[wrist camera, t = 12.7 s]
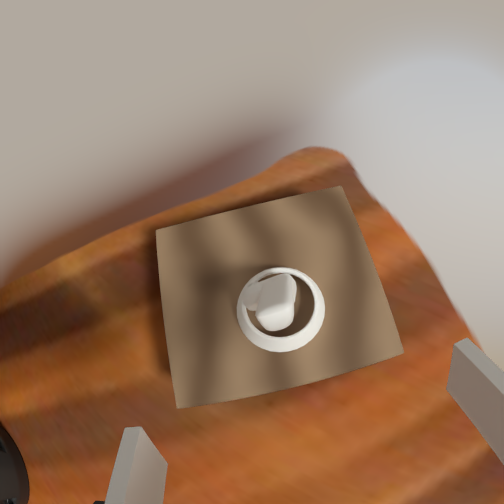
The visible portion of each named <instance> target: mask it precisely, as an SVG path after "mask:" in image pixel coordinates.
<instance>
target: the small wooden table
mask: <svg viewBox="0 0 504 504" xmlns="http://www.w3.org/2000/svg"><path fill="white" fill-rule="evenodd" d="M156 243H157V257H158V269H159V280H160V291H161V300H162V310H163V318H164V327H165V334H166V342H167V349H168V356H169V363H170V370H171V376H172V382H173V388H174V394H175V400H176V405H177V408H188V407H195V406H202V405H208V404H215V403H221V402H226V401H232V400H238V399H243V398H248V397H253V396H258V395H262V394H267V393H272V392H276V391H280V390H285V389H289V388H293V387H297V386H301V385H305V384H309V383H312V382H316V381H320V380H323V379H327V378H331V377H334V376H337V375H341V374H344V373H347V372H351V371H354V370H357V369H360V368H363V367H366V366H369V365H372V364H375V363H378V362H381V361H384V360H387V359H390V358H393V357H395V356H398V355H400V354H403V353H404V350H403V347H402V344H401V341H400V337H399V334H398V331H397V328H396V325H395V322H394V319H393V316H392V313H391V310H390V307H389V304H388V301H387V298H386V295H385V292H384V290H383V287H382V284H381V281H380V279H379V276H378V273H377V271H376V268H375V265H374V263H373V260H372V258H371V255H370V252H369V250H368V247H367V245H366V242H365V240H364V237H363V235H362V233H361V230H360V228H359V225H358V223H357V221H356V218H355V216H354V214H353V211H352V209H351V207H350V204H349V202H348V200H347V198H346V195H345V193H344V191H343V189H342V187H341V186H337V187H332V188H328V189H323V190H318V191H314V192H309V193H304V194H300V195H295V196H291V197H287V198H282V199H278V200H273V201H269V202H265V203H261V204H256V205H252V206H248V207H244V208H240V209H236V210H232V211H228V212H224V213H220V214H216V215H212V216H208V217H204V218H200V219H196V220H192V221H188V222H184V223H181V224H177V225H173V226H169V227H166V228H162V229H158V230H156ZM276 267H287V268H292V269H296V270H298V271H300V272H302V273H305V274H306V275H307V276H309V277H310V278H311V279H312V280H313V281H314V282H315V283H316V284H317V286H318V287H319V289H320V291H321V293H322V296H323V298H324V304H325V315H324V320H323V323H322V326H321V328H320V329H319V331H318V333H317V334H316V335H315V336H314V338H313V339H312V340H311V341H309V342H308V343H307V344H306V345H304V346H302V347H300V348H298V349H295V350H292V351H288V352H273V351H268V350H265V349H262V348H260V347H258V346H257V345H255V344H253V343H252V342H251V341H250V340H249V339H248V338H247V337H246V336H245V334H244V333H243V332H242V330H241V328H240V325H239V323H238V319H237V303H238V299H239V296H240V293H241V291H242V290H243V288H244V286H245V285H246V284H247V283H248V281H249V280H250V279H251V278H253V277H254V276H255V275H257V274H258V273H260V272H262V271H264V270H267V269H270V268H276ZM280 274H287V273H275V274H271V275H268V276H266V277H264V278H262V279H260V280H259V281H258V282H260V281H263V280H266V279H268V278H271V277H274V276H276V275H280ZM290 275H291V274H290ZM291 277H292V278H293V279H294V280H295V282H296V287H297V290H296V298H295V302H294V318H293V321H292V323H291V324H290V325H289V326H288V327H286V328H284V329H282V330H278V331H268V330H266V329H265V328H264V327H263V326H262V325H261V324H260V322H259V321H258V319H257V318H256V316H255V313H256V311H250V310H248V309H247V307H246V310H247V314H248V317H249V319H250V321H251V323H252V324H253V325H254V326H255V327H256V328H257V329H258V330H259V331H261V332H262V333H264V334H266V335H269V336H273V337H286V336H290V335H293V334H295V333H297V332H299V331H300V330H302V329H303V328H304V327H305V326H306V325H307V324H308V322H309V321H310V319H311V317H312V314H313V311H314V297H313V294H312V291H311V289H310V287H309V286H308V285H307V284H306V283H305V282H304V281H303V280H302V279H300V278H298V277H296V276H294V275H291Z"/></svg>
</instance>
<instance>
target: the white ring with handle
mask: <svg viewBox="0 0 504 504" xmlns="http://www.w3.org/2000/svg"><path fill="white" fill-rule="evenodd" d="M275 273H287V274H280V275H276V276H274V277H271V278H268V279H266V280H263V281H260V282H258V281H259V280H260V279H262V278H264V277H266V276H268V275H271V274H275ZM290 274H291V275H294V276H296V277H298V278H300V279H302V280H303V281H304V282H305V283H306V284H307V285H308V286H309V287H310V289H311V291H312V294H313V297H314V311H313V314H312V317H311V319H310V321H309V322H308V324H307V325H306V326H305V327H304V328H303V329H302V330H300V331H299V332H297V333H295V334H293V335H290V336H286V337H273V336H269V335H266V334H264V333H262V332H261V331H259V330H258V329H257V328H256V327H255V326H254V325H253V324H252V323H251V321H250V319H249V317H248V314H247V310H246V307H247V309H248V310H250V311H256V313H255V316H256V318H257V319H258V321H259V322H260V324H261V325H262V326H263V327H264V328H265V329H266V330H268V331H278V330H282V329H284V328H286V327H288V326H289V325H290V324H291V323H292V321H293V318H294V302H295V298H296V290H297V287H296V282H295V280H294V279H293V278H292V277H291V275H290ZM324 315H325V304H324V298H323V296H322V293H321V291H320V289H319V287H318V286H317V284H316V283H315V282H314V281H313V280H312V279H311V278H310V277H309V276H307V275H306V274H305V273H302V272H300V271H298V270H296V269H292V268H287V267H276V268H270V269H267V270H264V271H262V272H260V273H258V274H257V275H255V276H254V277H253V278H251V279H250V280H249V281H248V283H247V284H246V285H245V286H244V288H243V290H242V291H241V293H240V296H239V299H238V303H237V319H238V323H239V325H240V328H241V330H242V332H243V333H244V334H245V336H246V337H247V338H248V339H249V340H250V341H251V342H252V343H253V344H255V345H257V346H258V347H260V348H262V349H265V350H268V351H273V352H288V351H292V350H295V349H298V348H300V347H302V346H304V345H306V344H307V343H308V342H309V341H311V340H312V339H313V338H314V336H315V335H316V334H317V333H318V331H319V329H320V328H321V326H322V323H323V320H324Z"/></svg>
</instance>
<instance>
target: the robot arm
mask: <svg viewBox="0 0 504 504" xmlns="http://www.w3.org/2000/svg"><path fill="white" fill-rule="evenodd" d="M446 390H447V391H448V392H449V393H450V395H451V396H452V397H453V398H454V400H455V401H456V402H457V404H458V405H459V406H460V407H461V409H462V410H463V411H464V412H465V414H466V415H467V416H468V418H469V419H470V420H471V422H472V423H473V424H474V425H475V427H476V428H477V429H478V431H479V432H480V433H481V435H482V436H483V437H484V439H485V440H486V441H487V443H488V444H489V445H490V447H491V448H492V450H493V451H494V452H495V454H496V455H497V456H498V458H499V459H500V461H501V462H502V463H503V465H504V372H503V371H502V370H501V369H500V368H499V367H498V366H497V365H496V364H495V363H494V362H493V361H492V360H491V359H490V358H489V357H488V356H487V355H486V354H485V353H483V352H482V351H481V350H480V349H479V348H478V347H477V346H476V345H475V344H474V343H473V342H472V341H470V340H469V339H468V338H465V339H463V340H461V341H459V342H457V343H455V344H454V347H453V353H452V360H451V366H450V372H449V377H448V383H447V388H446ZM167 465H168V463H167V462H166V461H165V459H164V458H163V457H162V455H161V454H160V453H159V451H158V450H157V449H156V447H155V446H154V444H153V443H152V442H151V440H150V439H149V437H148V436H147V434H146V433H145V432H144V430H143V429H142V427H128V428H125V430H124V433H123V436H122V440H121V443H120V447H119V450H118V454H117V458H116V461H115V465H114V469H113V473H112V476H111V480H110V484H109V488H108V492H107V496H106V500H105V501H95V502H94V503H93V504H163V497H164V489H165V481H166V473H167ZM28 500H29V481H28V476H27V472H26V468H25V465H24V462H23V460H22V457H21V455H20V453H19V451H18V449H17V447H16V445H15V443H14V442H13V440H12V439H11V437H10V436H9V435H8V434H7V432H6V431H5V430H4V429H3V428H1V427H0V504H27V503H28Z"/></svg>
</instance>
